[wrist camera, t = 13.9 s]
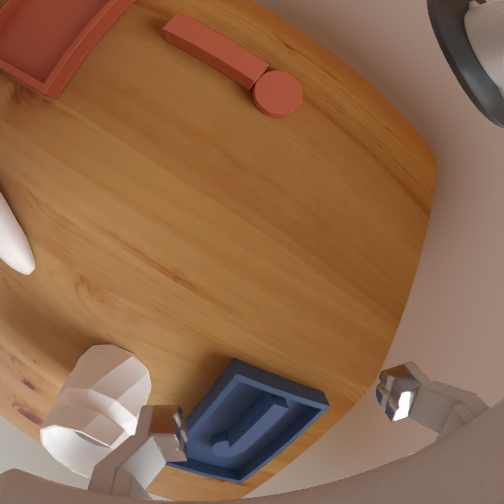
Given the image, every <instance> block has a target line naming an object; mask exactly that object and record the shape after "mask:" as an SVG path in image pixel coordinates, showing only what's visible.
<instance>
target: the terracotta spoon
mask: <svg viewBox="0 0 504 504" xmlns="http://www.w3.org/2000/svg"><path fill="white" fill-rule="evenodd" d="M162 29H163V32H164V35H165V38H166V41H167V42H168V43H170V44H172V45H174V46H176V47H178V48H180V49H182V50H184V51H185V52H187V53H189V54H191V55H193V56H194V57H196V58H198V59H200V60H201V61H203V62H205V63H207V64H208V65H210V66H212V67H213V68H215V69H217V70H218V71H220V72H221V73H223V74H225V75H226V76H228V77H229V78H231V79H233V80H234V81H236V82H237V83H239V84H240V85H242V86H243V87H245V88H246V89H248V90H251V89H252V87H253V86H254V85H255V86H254V88H253V92H252V98H253V102H254V104H255V106H256V107H257V108H258V110H259V111H261V112H262V113H263V114H265V115H267V116H270V117H284V116H287V115H289V114H290V113H292V112H293V111H294V110H296V109H297V108H298V107H299V105H300V103H301V101H302V97H303V92H302V88H301V85H300V83H299V82H298V81H297V79H296V78H295V77H293V76H292V75H291V74H289V73H287V72H284V71H278V70H275V71H269V72H267V73H265V74H264V72H265V71H266V69H267V67H268V65H269V64H268V63H267V62H265V61H264V60H262V59H261V58H259V57H258V56H256V55H254V54H253V53H251V52H250V51H248V50H246V49H245V48H243V47H242V46H240V45H238V44H237V43H235V42H233V41H232V40H230V39H228V38H226V37H225V36H223V35H221V34H219V33H217V32H216V31H214V30H212V29H210V28H208V27H206V26H204V25H202V24H201V23H199V22H197V21H195V20H193V19H191V18H189V17H186V16H184V15H182V14H180V13H177V14H176V15H175V16H174V17H173V18H172V19H171V20H170V21H169V22H168V23H167V24H166V25H165V26H164V27H163V28H162Z"/></svg>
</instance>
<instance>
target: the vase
mask: <svg viewBox="0 0 504 504" xmlns="http://www.w3.org/2000/svg"><path fill="white" fill-rule="evenodd" d="M150 391H151V381H150V376H149V371H148V369H147V368H146V367H145V366H144V365H143V364H142V362H141V361H140V360H139V359H138V358H137V357H136V356H135V355H134V354H133V353H131V352H129V351H126V350H124V349H122V348H119V347H117V346H115V345H113V344H110V345H93V346H92V347H90V348H89V349H88V350H87V351H86V352H85V353H84V354H83V355H82V356H81V357H80V358H79V360H78V361H77V363H76V365H75V367H74V369H73V370H72V372H71V373H70V375H69V376H68V378H67V380H66V381H65V383H64V385H63V386H62V388H61V390H60V392H59V394H58V396H57V403H58V406H54V407H53V408H52V410H51V411H50V413H49V414H48V416H47V418H46V419H45V421H44V423H43V425H42V427H41V428H40V437H41V443H42V444H43V446H44V447H45V448H46V449H47V451H48V452H49V453H50V454H51V455H52V456H53V458H54V459H56V460H57V461H58V462H60V463H61V464H63V465H64V466H66V467H67V468H69V469H70V470H72V471H73V472H75V473H77V474H80V475H82V476H85V477H88V478H90V479H91V476H92V472H93V469H94V466H95V465H96V464H98V463H99V462H100V461H101V460H102V459H104V458H105V457H106V456H107V455H108V454H110V453H111V452H112V451H113V450H114V449H115V448H117V447H118V446H119V445H120V444H121V443H122V442H124V441H125V440H126V439H127V438H128V437H129V436H130V435H135V431H136V427H137V422H138V418H139V414H140V410H141V407H142V406H143V405H146V403H147V400H148V397H149V394H150Z"/></svg>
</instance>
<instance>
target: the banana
mask: <svg viewBox="0 0 504 504" xmlns="http://www.w3.org/2000/svg"><path fill="white" fill-rule="evenodd" d="M0 258H1V259H2V260H3V261H4V262H5V263H6V264H7V265H9V266H10V267H12V268H13V269H15V270H17V271H18V272H21V273H23V274H26V275H28V274H30V273H31V272H32V271H33V270H34V269H35V268H36V267H35V260H34V257H33V254H32V251H31V248H30V245H29V242H28V240H27V237H26V235H25V233H24V231H23V230H22V228H21V226H20V225H19V223H18V222H17V220H16V218H15V216H14V214H13V213H12V211H11V209H10V207H9V206H8V204H7V202H6V200H5V199H4V197H3V195H2V194H1V192H0Z"/></svg>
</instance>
